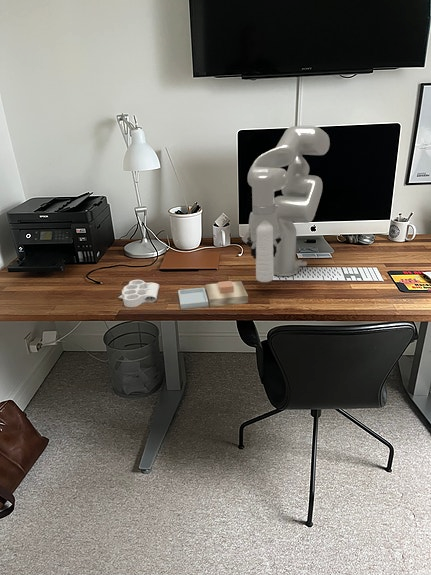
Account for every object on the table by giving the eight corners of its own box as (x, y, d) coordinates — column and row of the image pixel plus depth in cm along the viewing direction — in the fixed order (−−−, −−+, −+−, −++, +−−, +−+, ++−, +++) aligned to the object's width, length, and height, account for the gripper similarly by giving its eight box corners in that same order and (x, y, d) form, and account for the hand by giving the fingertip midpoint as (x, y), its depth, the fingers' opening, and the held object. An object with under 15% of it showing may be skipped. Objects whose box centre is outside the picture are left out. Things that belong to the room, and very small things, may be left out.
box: (204, 292, 173) (204, 287, 172) (208, 306, 162) (208, 301, 161) (178, 294, 172) (178, 290, 171) (180, 309, 161) (180, 304, 160)
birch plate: (241, 287, 175) (240, 280, 174) (248, 303, 163) (248, 295, 162) (205, 291, 174) (205, 284, 172) (210, 307, 162) (209, 299, 161)
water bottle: (275, 281, 165) (275, 215, 153) (258, 283, 164) (257, 218, 153) (268, 271, 173) (268, 208, 161) (252, 273, 172) (250, 210, 160)
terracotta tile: (231, 286, 170) (231, 280, 169) (233, 292, 165) (233, 286, 164) (218, 287, 169) (218, 282, 168) (220, 293, 165) (220, 287, 164)
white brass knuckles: (155, 306, 164) (115, 308, 164) (160, 286, 181) (123, 287, 181) (154, 298, 163) (114, 300, 163) (159, 278, 179) (122, 280, 179)
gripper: (284, 203, 160) (283, 250, 169) (236, 208, 159) (238, 255, 167) (290, 209, 154) (289, 257, 162) (241, 214, 152) (242, 263, 160)
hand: (263, 256), depth 164 cm, fingers closed on water bottle, 6 cm apart
